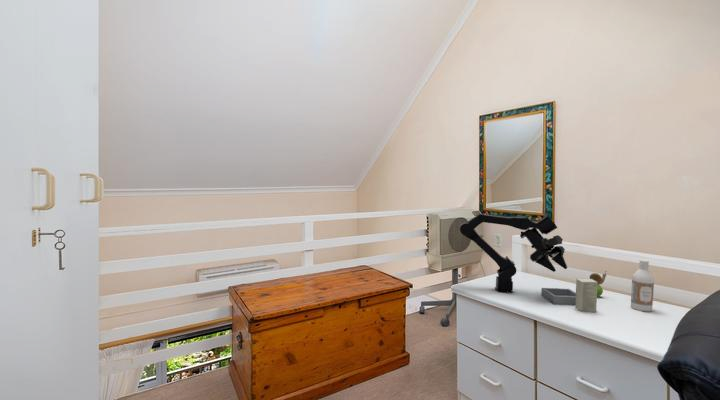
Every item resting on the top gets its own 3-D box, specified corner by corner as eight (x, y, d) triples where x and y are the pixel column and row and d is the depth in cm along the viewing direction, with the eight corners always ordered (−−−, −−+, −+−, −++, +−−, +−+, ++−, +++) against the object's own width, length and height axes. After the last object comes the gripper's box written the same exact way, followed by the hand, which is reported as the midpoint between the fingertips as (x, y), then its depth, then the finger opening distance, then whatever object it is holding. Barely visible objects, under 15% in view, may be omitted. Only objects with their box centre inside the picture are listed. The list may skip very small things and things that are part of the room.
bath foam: (634, 310, 143) (637, 261, 142) (627, 305, 150) (630, 258, 149) (655, 313, 141) (658, 263, 140) (647, 307, 148) (650, 259, 147)
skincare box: (590, 308, 145) (592, 278, 145) (596, 312, 141) (598, 282, 140) (574, 307, 146) (575, 278, 145) (579, 311, 142) (581, 281, 141)
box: (553, 304, 149) (554, 296, 149) (541, 295, 161) (541, 287, 161) (583, 305, 148) (584, 297, 148) (568, 296, 160) (569, 288, 160)
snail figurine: (605, 299, 157) (606, 272, 157) (588, 296, 161) (589, 270, 160) (604, 296, 162) (606, 269, 161) (588, 293, 165) (589, 267, 165)
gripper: (537, 230, 151) (563, 261, 142) (561, 228, 161) (586, 256, 152) (519, 246, 158) (543, 276, 149) (543, 242, 168) (566, 271, 159)
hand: (560, 269), depth 152 cm, fingers open, 9 cm apart
